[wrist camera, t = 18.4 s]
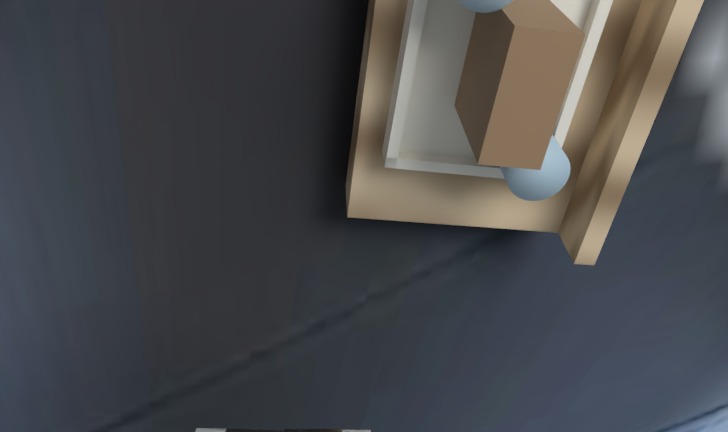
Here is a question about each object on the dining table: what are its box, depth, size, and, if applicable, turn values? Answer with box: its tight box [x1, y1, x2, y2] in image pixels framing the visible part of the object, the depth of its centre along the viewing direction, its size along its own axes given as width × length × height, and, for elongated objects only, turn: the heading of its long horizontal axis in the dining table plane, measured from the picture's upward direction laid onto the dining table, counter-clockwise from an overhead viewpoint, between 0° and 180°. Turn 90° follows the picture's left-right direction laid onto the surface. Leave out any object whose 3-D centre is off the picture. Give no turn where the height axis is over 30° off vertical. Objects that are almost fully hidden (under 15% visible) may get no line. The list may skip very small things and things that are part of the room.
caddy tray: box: [382, 0, 613, 201], centre depth 29 cm, size 13×9×7 cm
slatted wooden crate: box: [346, 0, 704, 265], centre depth 32 cm, size 22×14×6 cm, turn 173°
